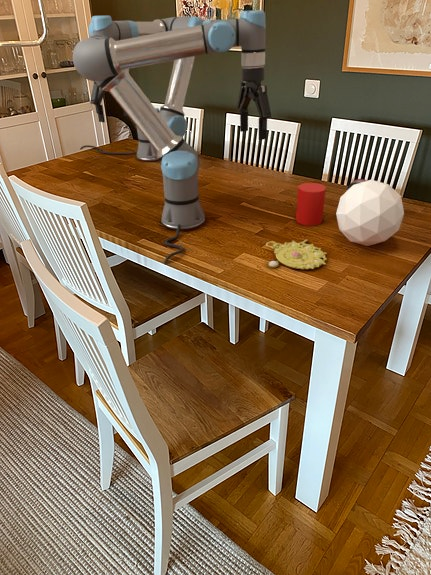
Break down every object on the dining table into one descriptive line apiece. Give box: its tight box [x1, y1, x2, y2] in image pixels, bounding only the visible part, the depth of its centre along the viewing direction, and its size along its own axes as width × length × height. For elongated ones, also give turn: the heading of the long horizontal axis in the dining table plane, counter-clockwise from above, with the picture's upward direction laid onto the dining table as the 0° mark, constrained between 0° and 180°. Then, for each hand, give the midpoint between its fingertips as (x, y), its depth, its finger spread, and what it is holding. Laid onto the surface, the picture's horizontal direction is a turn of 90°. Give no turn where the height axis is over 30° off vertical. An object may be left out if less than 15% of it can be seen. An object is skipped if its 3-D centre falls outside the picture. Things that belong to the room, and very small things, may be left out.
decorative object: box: [265, 238, 328, 270], centre depth 132 cm, size 21×2×20 cm
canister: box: [295, 182, 327, 227], centre depth 151 cm, size 9×9×12 cm
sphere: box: [335, 179, 405, 247], centre depth 135 cm, size 19×20×20 cm
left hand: (114, 119), depth 184 cm, fingers open, 13 cm apart
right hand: (253, 135), depth 153 cm, fingers open, 13 cm apart
